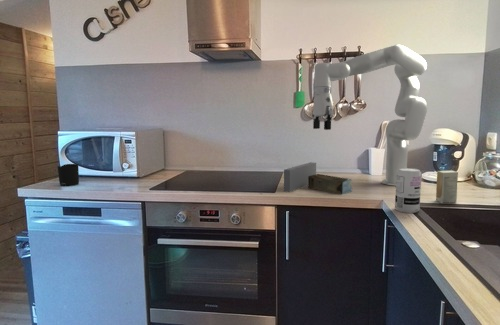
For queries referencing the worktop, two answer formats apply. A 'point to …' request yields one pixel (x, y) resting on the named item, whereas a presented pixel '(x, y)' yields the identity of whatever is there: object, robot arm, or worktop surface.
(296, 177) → the board
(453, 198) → the skincare box
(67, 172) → the pen holder
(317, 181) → the beverage carton
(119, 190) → the worktop surface
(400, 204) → the supplement can
